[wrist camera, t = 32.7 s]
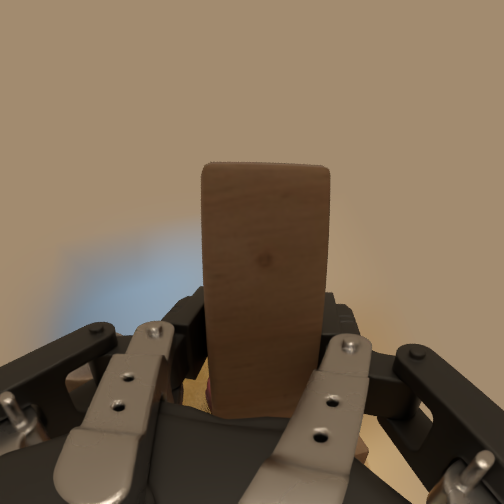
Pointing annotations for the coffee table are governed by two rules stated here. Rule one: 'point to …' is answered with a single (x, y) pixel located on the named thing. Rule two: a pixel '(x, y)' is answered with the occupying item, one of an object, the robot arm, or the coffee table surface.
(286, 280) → the wooden block
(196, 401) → the coffee table surface
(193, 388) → the coffee table surface
